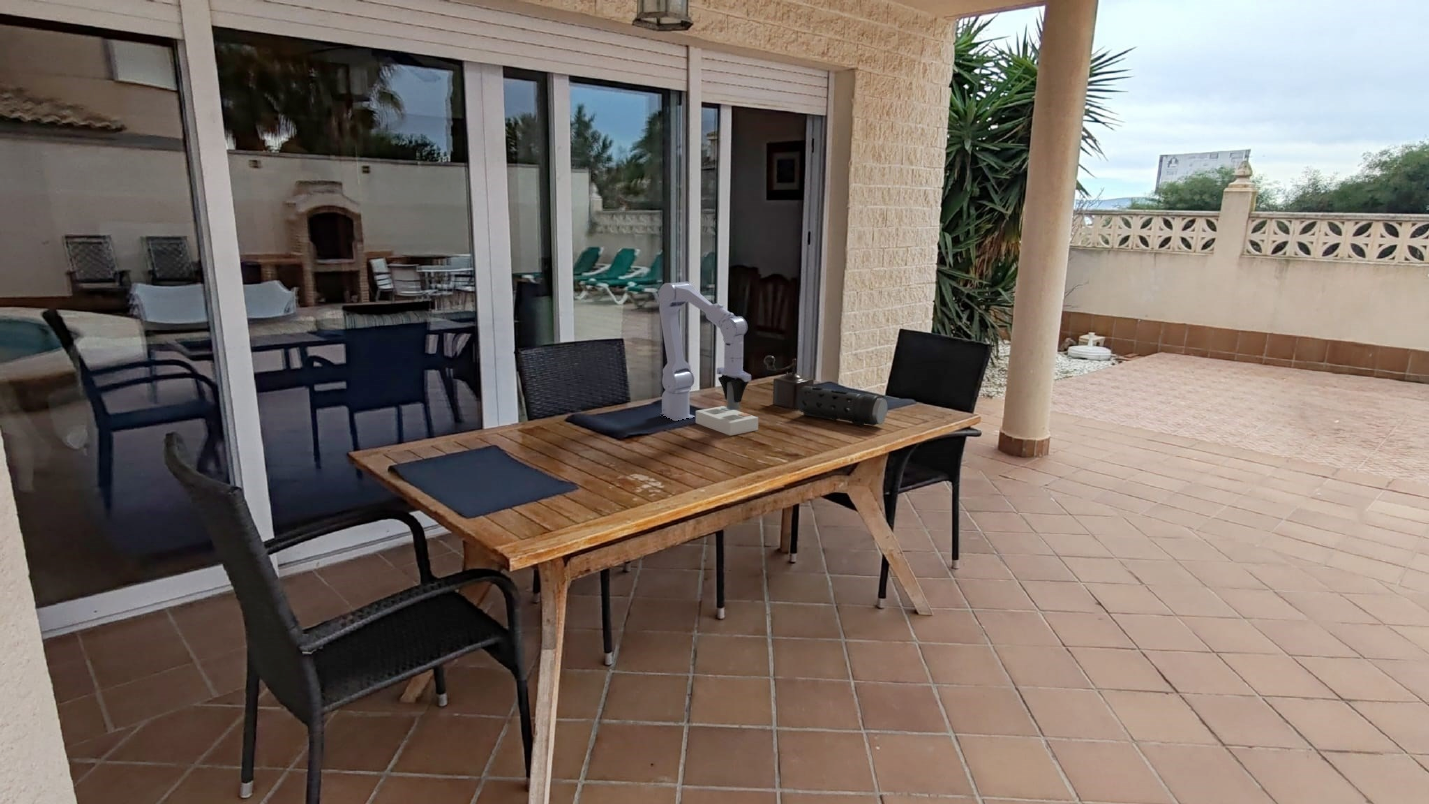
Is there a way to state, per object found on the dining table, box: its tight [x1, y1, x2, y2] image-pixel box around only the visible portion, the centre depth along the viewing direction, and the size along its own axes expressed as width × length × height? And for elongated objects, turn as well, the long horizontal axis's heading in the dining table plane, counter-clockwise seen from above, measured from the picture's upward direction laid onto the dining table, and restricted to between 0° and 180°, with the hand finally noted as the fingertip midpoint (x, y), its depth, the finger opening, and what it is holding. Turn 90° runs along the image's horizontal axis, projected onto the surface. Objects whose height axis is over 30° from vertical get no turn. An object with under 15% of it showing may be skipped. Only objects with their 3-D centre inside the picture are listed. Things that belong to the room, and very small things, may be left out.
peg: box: [726, 382, 741, 411], centre depth 235 cm, size 4×4×8 cm
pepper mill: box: [763, 355, 815, 410], centre depth 266 cm, size 16×11×18 cm
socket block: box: [695, 405, 759, 436], centre depth 241 cm, size 18×11×4 cm, turn 37°
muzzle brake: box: [797, 386, 888, 426], centre depth 247 cm, size 10×28×10 cm, turn 54°
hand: (733, 400), depth 235 cm, fingers closed on peg, 4 cm apart
